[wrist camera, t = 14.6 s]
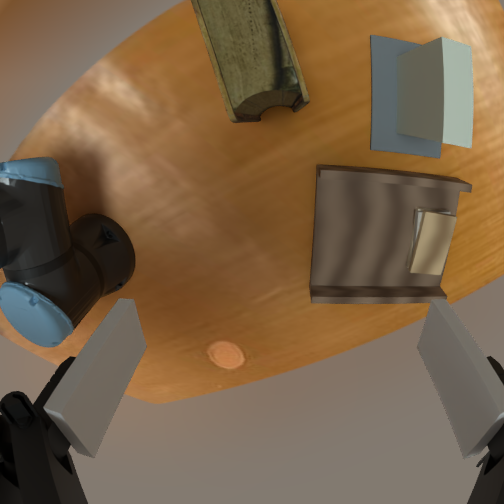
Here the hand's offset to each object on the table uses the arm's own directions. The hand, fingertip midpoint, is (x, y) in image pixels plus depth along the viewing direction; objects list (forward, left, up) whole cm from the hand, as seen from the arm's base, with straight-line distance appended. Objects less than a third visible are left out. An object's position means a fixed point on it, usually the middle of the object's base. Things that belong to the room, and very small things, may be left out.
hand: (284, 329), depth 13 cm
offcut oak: (+24, -8, -32) cm, 41 cm away
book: (-3, +17, -36) cm, 40 cm away
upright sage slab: (+19, +14, -35) cm, 42 cm away
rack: (+17, -8, -36) cm, 40 cm away
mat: (+19, +14, -36) cm, 42 cm away
